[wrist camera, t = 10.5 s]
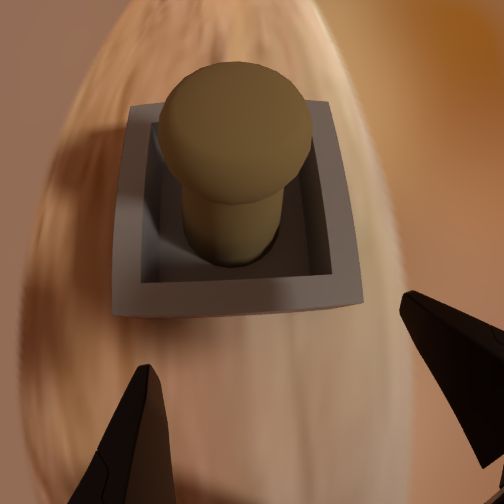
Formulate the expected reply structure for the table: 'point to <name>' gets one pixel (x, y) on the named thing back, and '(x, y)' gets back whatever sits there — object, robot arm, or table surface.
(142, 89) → the table surface
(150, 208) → the holder block
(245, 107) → the cork
